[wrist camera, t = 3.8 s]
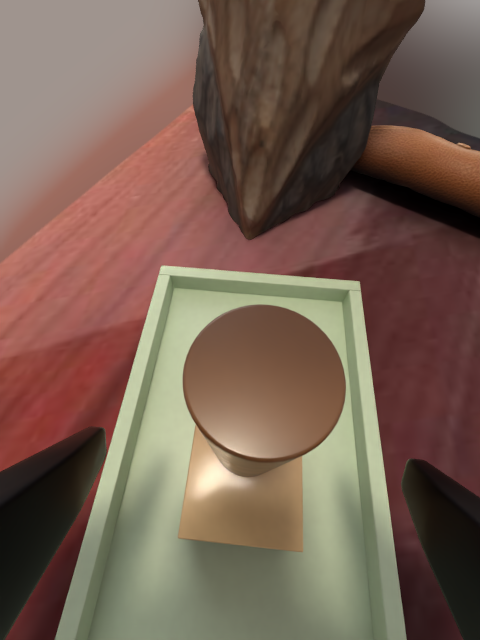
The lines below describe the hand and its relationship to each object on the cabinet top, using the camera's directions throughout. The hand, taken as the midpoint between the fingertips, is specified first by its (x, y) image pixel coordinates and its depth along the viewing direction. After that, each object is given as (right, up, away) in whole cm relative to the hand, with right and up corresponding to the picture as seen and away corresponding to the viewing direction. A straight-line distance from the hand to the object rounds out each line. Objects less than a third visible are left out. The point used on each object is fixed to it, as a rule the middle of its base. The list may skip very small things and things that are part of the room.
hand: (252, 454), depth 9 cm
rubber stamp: (0, -3, +7) cm, 8 cm away
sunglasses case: (+18, +16, +19) cm, 31 cm away
